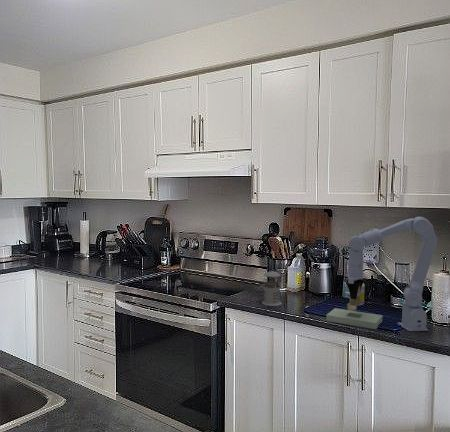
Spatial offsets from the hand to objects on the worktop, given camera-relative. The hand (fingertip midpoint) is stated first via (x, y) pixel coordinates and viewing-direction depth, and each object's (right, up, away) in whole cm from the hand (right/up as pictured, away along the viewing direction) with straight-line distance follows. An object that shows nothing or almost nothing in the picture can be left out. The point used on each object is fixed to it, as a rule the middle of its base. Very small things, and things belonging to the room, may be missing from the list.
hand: (354, 297), depth 178 cm
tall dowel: (0, -3, 0) cm, 3 cm away
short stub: (+2, -9, +12) cm, 15 cm away
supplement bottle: (+9, -8, +28) cm, 30 cm away
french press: (-31, -8, +29) cm, 43 cm away
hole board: (0, -10, +1) cm, 10 cm away
